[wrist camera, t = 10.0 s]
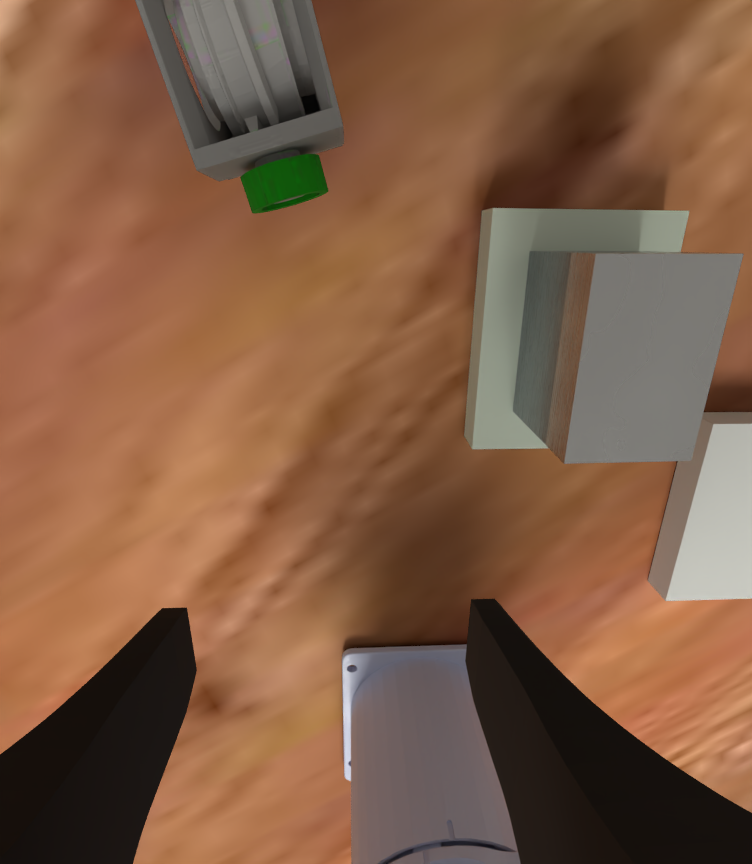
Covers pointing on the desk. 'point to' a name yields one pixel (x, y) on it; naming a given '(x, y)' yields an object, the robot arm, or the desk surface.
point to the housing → (621, 351)
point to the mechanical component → (250, 92)
